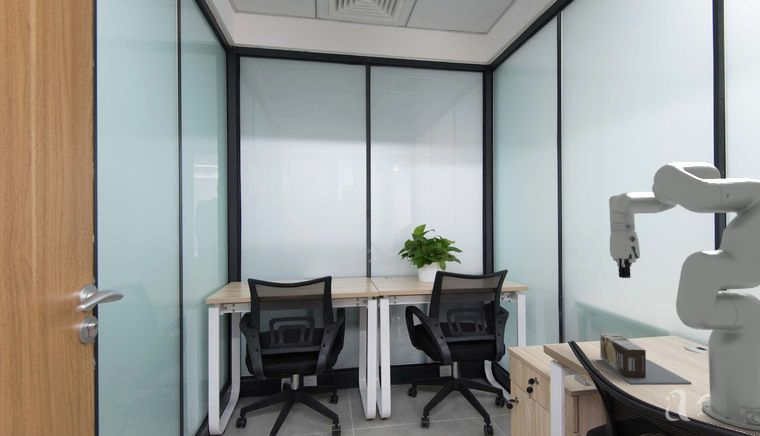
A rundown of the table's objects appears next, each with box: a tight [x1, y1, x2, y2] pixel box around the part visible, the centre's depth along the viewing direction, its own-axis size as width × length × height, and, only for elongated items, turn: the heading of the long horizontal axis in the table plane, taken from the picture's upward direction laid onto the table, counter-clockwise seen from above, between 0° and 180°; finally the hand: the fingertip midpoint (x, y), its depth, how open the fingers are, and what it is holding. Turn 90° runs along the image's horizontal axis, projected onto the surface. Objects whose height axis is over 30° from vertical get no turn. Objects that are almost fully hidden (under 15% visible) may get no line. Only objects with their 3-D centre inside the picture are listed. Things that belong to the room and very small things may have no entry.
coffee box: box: [599, 332, 647, 378], centre depth 117 cm, size 9×6×16 cm
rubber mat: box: [595, 359, 692, 385], centre depth 115 cm, size 18×18×1 cm
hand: (624, 277), depth 129 cm, fingers closed
